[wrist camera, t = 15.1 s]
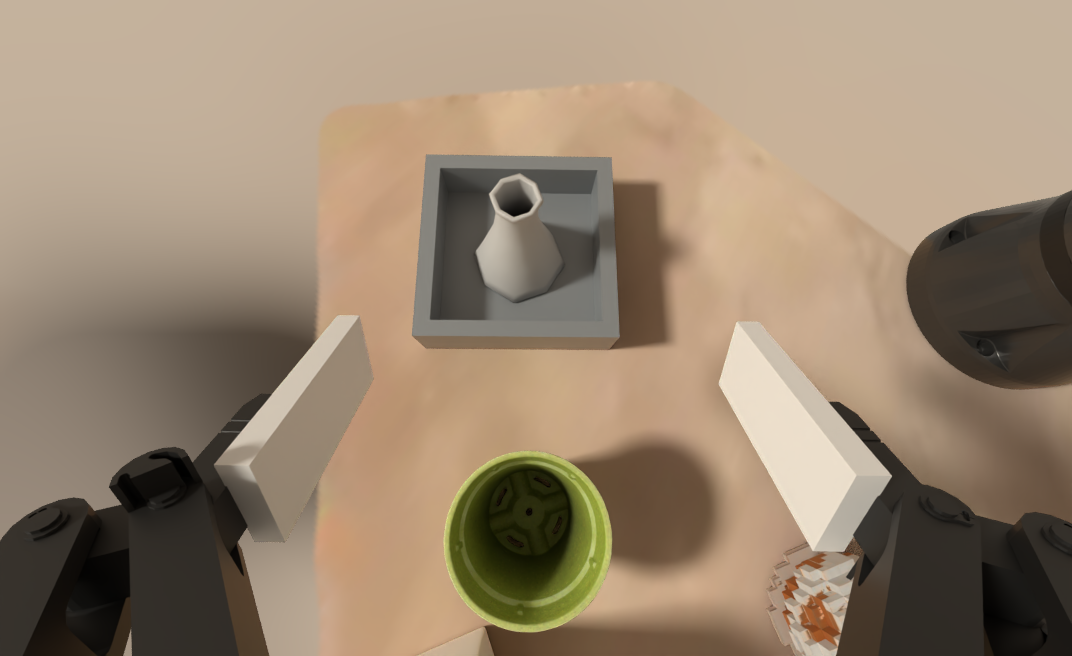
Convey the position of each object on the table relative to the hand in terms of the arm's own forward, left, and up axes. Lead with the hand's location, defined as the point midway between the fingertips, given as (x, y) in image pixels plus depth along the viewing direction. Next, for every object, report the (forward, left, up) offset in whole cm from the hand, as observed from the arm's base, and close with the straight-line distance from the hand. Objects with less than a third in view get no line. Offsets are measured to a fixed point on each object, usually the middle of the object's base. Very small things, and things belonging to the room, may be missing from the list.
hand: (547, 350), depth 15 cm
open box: (+2, -12, -20) cm, 23 cm away
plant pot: (+1, +8, -20) cm, 22 cm away
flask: (+1, -11, -19) cm, 22 cm away
